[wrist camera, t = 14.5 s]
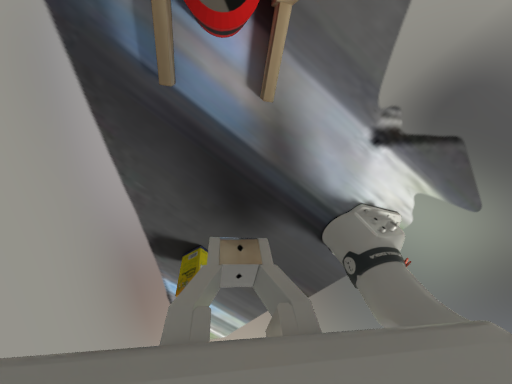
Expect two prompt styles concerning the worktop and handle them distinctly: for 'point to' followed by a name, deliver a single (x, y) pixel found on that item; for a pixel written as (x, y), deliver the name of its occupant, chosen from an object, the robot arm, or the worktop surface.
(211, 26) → the soda can
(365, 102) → the worktop surface
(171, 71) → the shelf
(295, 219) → the worktop surface
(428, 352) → the robot arm
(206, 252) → the supplement box
